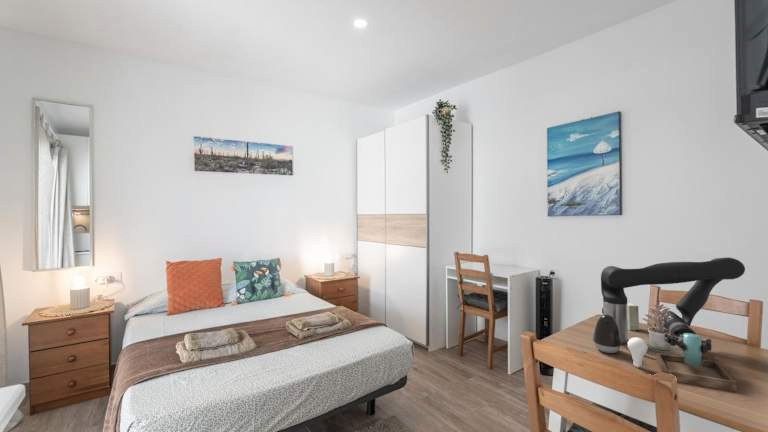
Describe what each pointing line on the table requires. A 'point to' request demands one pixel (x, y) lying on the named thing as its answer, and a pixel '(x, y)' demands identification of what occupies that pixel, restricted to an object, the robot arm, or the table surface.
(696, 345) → the teal canister
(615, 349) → the black rounded dome
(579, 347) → the table surface
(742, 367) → the table surface
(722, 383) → the walnut tray
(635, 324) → the skincare box
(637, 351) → the lightbulb
